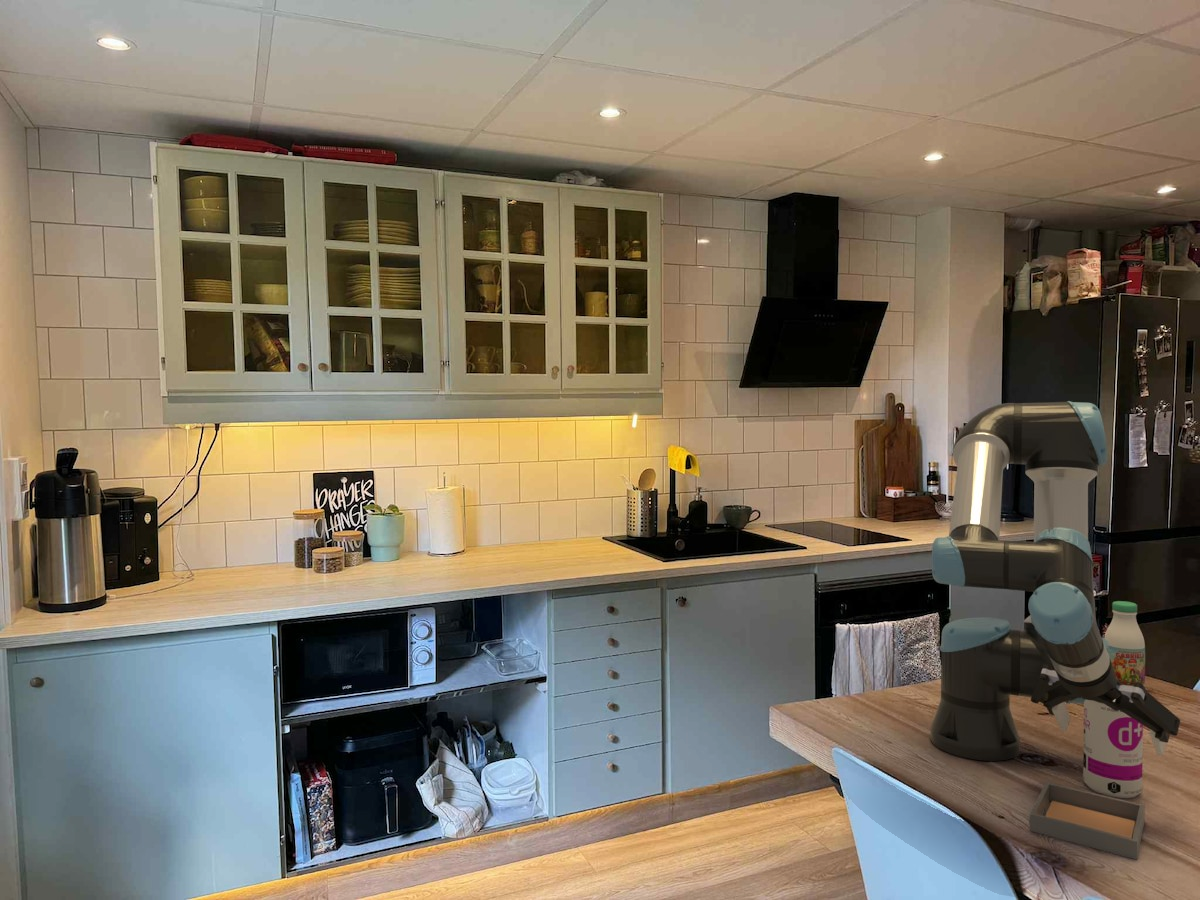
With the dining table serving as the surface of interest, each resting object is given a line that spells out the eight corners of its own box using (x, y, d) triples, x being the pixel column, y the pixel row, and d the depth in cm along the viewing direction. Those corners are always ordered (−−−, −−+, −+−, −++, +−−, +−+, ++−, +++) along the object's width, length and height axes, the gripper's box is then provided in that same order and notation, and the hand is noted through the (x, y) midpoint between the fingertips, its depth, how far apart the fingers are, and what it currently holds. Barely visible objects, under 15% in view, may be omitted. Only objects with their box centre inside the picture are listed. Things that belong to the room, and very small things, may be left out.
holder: (1136, 859, 112) (1137, 841, 111) (1029, 830, 120) (1030, 814, 119) (1144, 821, 122) (1144, 805, 122) (1045, 797, 130) (1045, 781, 130)
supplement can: (1153, 800, 129) (1155, 706, 128) (1100, 799, 129) (1102, 706, 128) (1122, 777, 137) (1123, 689, 136) (1072, 777, 137) (1073, 689, 137)
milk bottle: (1094, 688, 182) (1095, 599, 181) (1126, 686, 183) (1127, 598, 182) (1120, 699, 174) (1121, 607, 173) (1153, 698, 175) (1154, 606, 174)
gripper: (987, 665, 128) (1024, 734, 139) (1176, 705, 110) (1202, 781, 120) (1001, 626, 131) (1036, 696, 142) (1187, 658, 113) (1211, 736, 124)
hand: (1112, 735), depth 131 cm, fingers open, 13 cm apart
